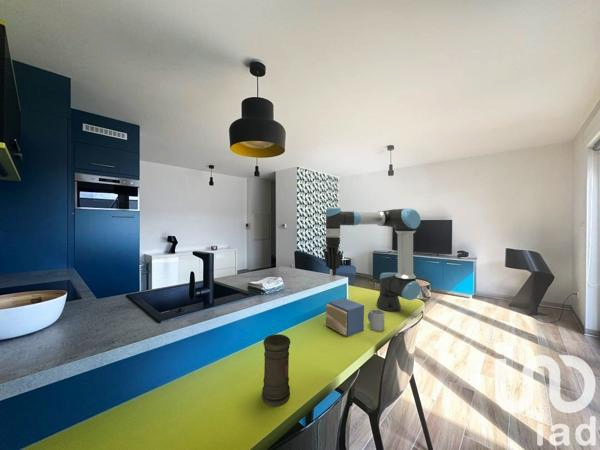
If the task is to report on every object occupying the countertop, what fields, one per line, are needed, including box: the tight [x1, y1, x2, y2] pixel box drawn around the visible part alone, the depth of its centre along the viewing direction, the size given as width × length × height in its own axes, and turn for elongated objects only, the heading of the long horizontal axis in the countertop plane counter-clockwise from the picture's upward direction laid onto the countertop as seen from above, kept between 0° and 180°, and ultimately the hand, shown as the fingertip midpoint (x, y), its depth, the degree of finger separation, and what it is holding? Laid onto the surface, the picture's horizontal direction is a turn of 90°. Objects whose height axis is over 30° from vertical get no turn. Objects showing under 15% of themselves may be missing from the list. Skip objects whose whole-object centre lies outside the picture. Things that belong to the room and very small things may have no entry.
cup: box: [367, 308, 385, 333], centre depth 129 cm, size 7×10×9 cm
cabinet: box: [328, 298, 365, 337], centre depth 127 cm, size 12×14×13 cm
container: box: [261, 333, 291, 407], centre depth 77 cm, size 9×9×18 cm
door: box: [325, 303, 347, 336], centre depth 123 cm, size 1×15×11 cm, turn 35°
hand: (332, 281), depth 128 cm, fingers closed
